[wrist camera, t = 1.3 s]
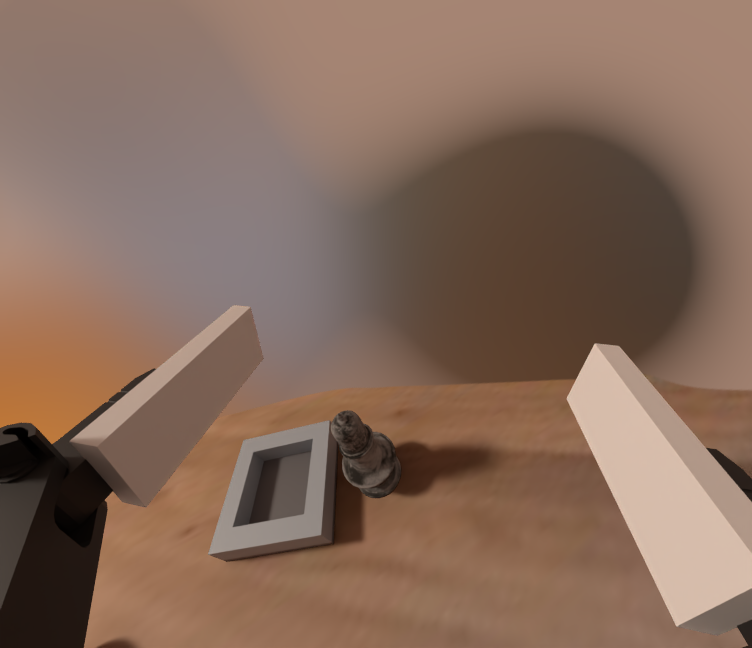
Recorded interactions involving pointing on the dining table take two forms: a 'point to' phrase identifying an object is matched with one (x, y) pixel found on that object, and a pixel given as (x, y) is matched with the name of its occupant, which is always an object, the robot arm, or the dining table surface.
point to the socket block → (280, 495)
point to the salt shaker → (366, 456)
